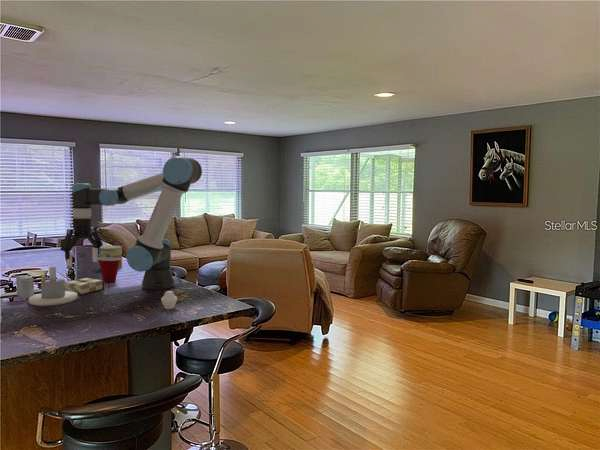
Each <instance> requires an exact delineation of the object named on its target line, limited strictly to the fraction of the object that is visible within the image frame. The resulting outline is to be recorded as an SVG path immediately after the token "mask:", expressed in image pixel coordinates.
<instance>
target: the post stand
mask: <svg viewBox="0 0 600 450" xmlns="http://www.w3.org/2000/svg"><path fill="white" fill-rule="evenodd" d="M48 268H49V269H48V272H49V276H48V277H49V279H46V275H45V274H41V282H40V293H38V294H34V295H33V296H31V297H29V298H28V299H27V301H28V304H29V305H32V306H39V307H43V306H44V307H45V306H46V307H47V306H48V307H49V306H56V305H57V306H59V305H63V304H69V303H72V302H74V301H76V300H77V299H78V294H79V293H75V292H70V291H65V282H66V280H65V279H64V278H57V267H56V266H55V265H54V266H49V267H48Z"/></svg>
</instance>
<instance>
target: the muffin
mask: <svg viewBox="0 0 600 450" xmlns="http://www.w3.org/2000/svg"><path fill="white" fill-rule="evenodd" d="M160 300H161V304H162V305H163V307H164V308H165V309H166V310H172V309H174V307H175V305H176V303H177V300H178V296H176V295H175V294H174V291H172V290H167V291H165V292H164V294H163V296H162V297H161V298H160Z"/></svg>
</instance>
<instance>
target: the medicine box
mask: <svg viewBox="0 0 600 450" xmlns="http://www.w3.org/2000/svg"><path fill="white" fill-rule="evenodd" d="M15 279H16V283H15V284H16V296H17V297H19V298H21V299H22V300H26V299H27V300H28V299H29V297H31V296H33V295H35V293H34V292H35V290H34V289H35V288H34V278H33V277H32V276H30V275H28V274H26V275H19V276H18V275H17V276H16V278H15Z"/></svg>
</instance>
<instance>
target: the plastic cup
mask: <svg viewBox="0 0 600 450" xmlns="http://www.w3.org/2000/svg"><path fill="white" fill-rule="evenodd" d="M120 260H121V258H114V257H102V258H101V257H98V265H99V268H100V273H101V278H102V279H101V280H102V282H103V283H106V284H107V283H114V282H116V280H117V276H118V270H119V269H118V265H119V262H120Z"/></svg>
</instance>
